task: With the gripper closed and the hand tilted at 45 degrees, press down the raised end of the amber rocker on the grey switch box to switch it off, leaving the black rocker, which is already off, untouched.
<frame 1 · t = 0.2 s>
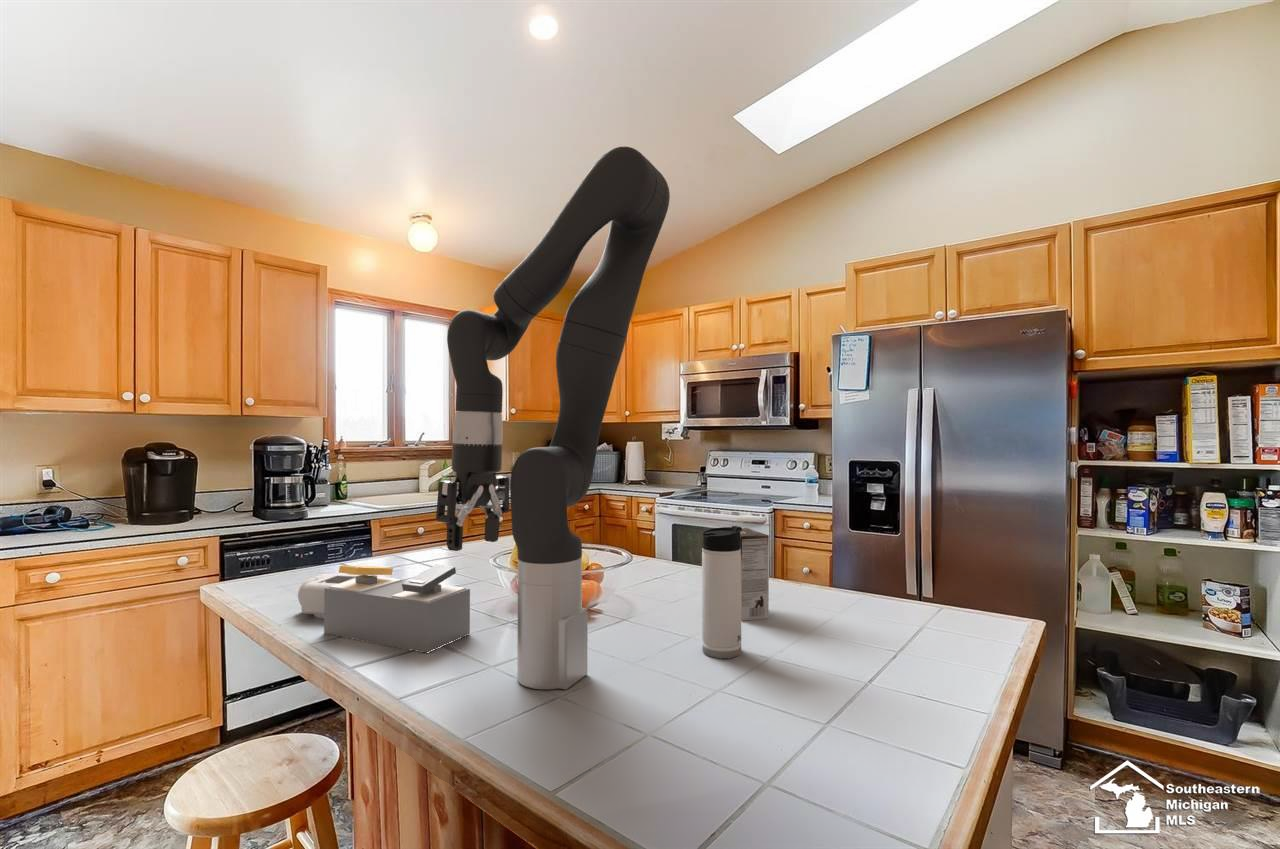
hand: (473, 545, 92), 18 cm above the counter, tool pointing down, fingers open, 8 cm apart
amber rocker: (366, 569, 107), point 11 cm above the counter, hinge at 12.0°
black rocker: (429, 577, 101), point 11 cm above the counter, hinge at -12.0°
travel mug: (722, 652, 95), on the counter
cable organizer: (336, 611, 119), on the counter
coffee box: (744, 614, 116), on the counter
grey switch box: (396, 634, 104), on the counter
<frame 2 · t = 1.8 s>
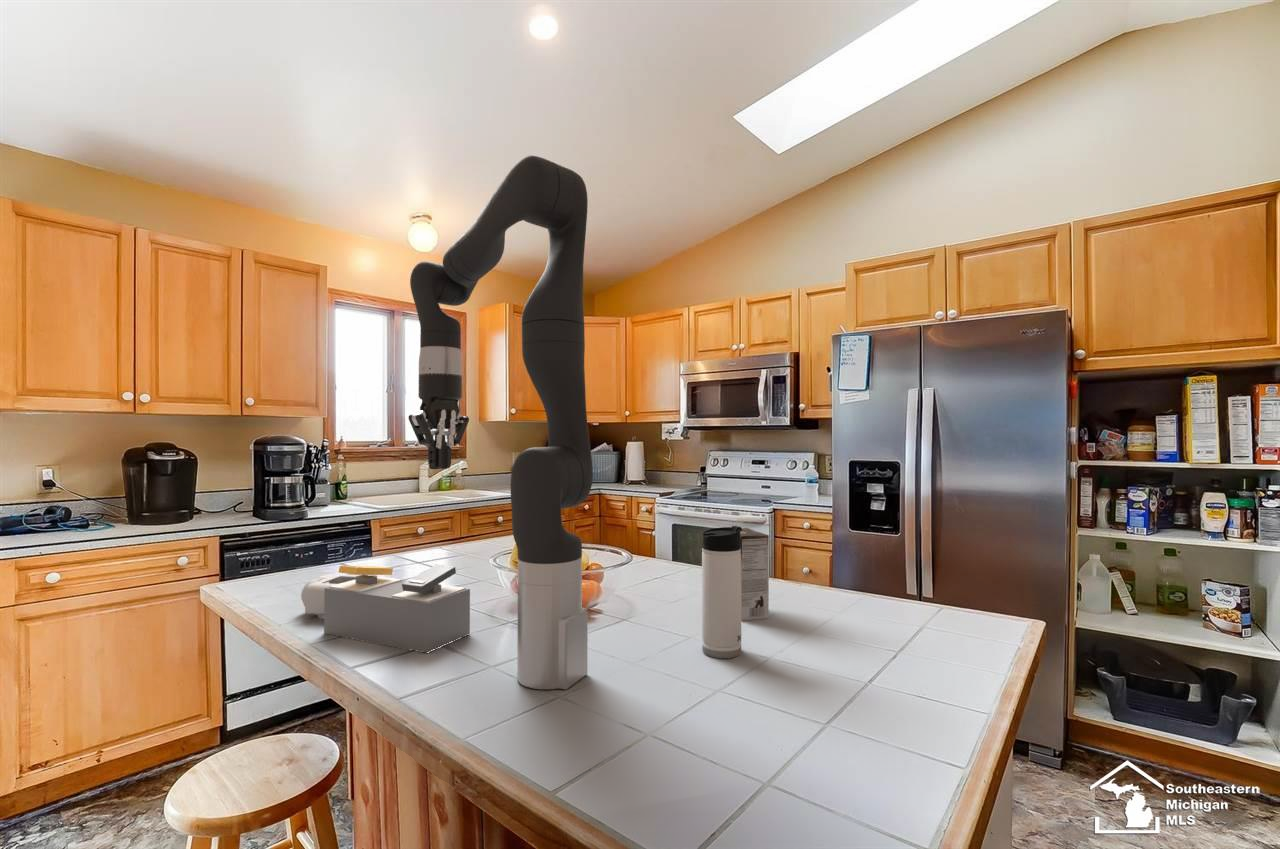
hand: (439, 468, 107), 29 cm above the counter, tool pointing down, fingers closed
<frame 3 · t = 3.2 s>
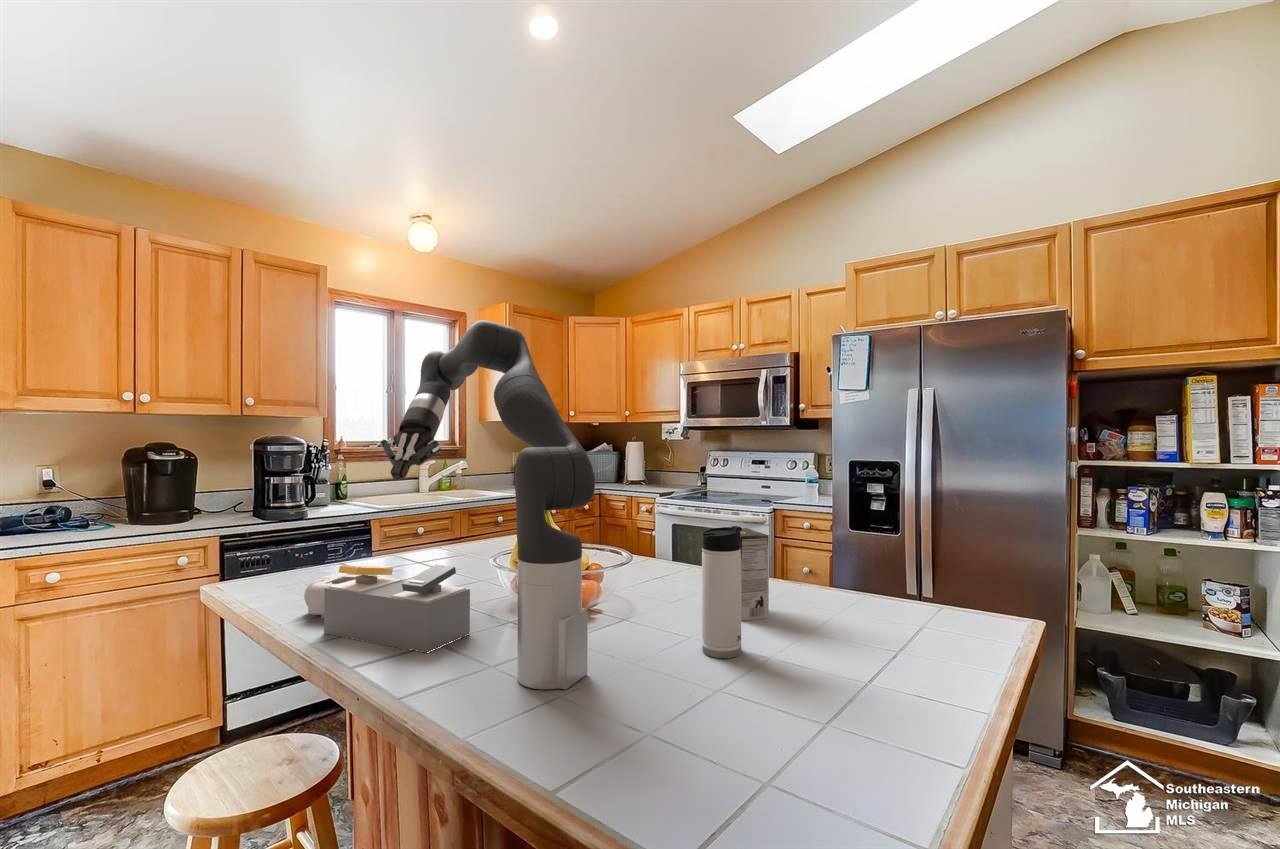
hand: (396, 477, 119), 27 cm above the counter, tool tilted 45°, fingers closed
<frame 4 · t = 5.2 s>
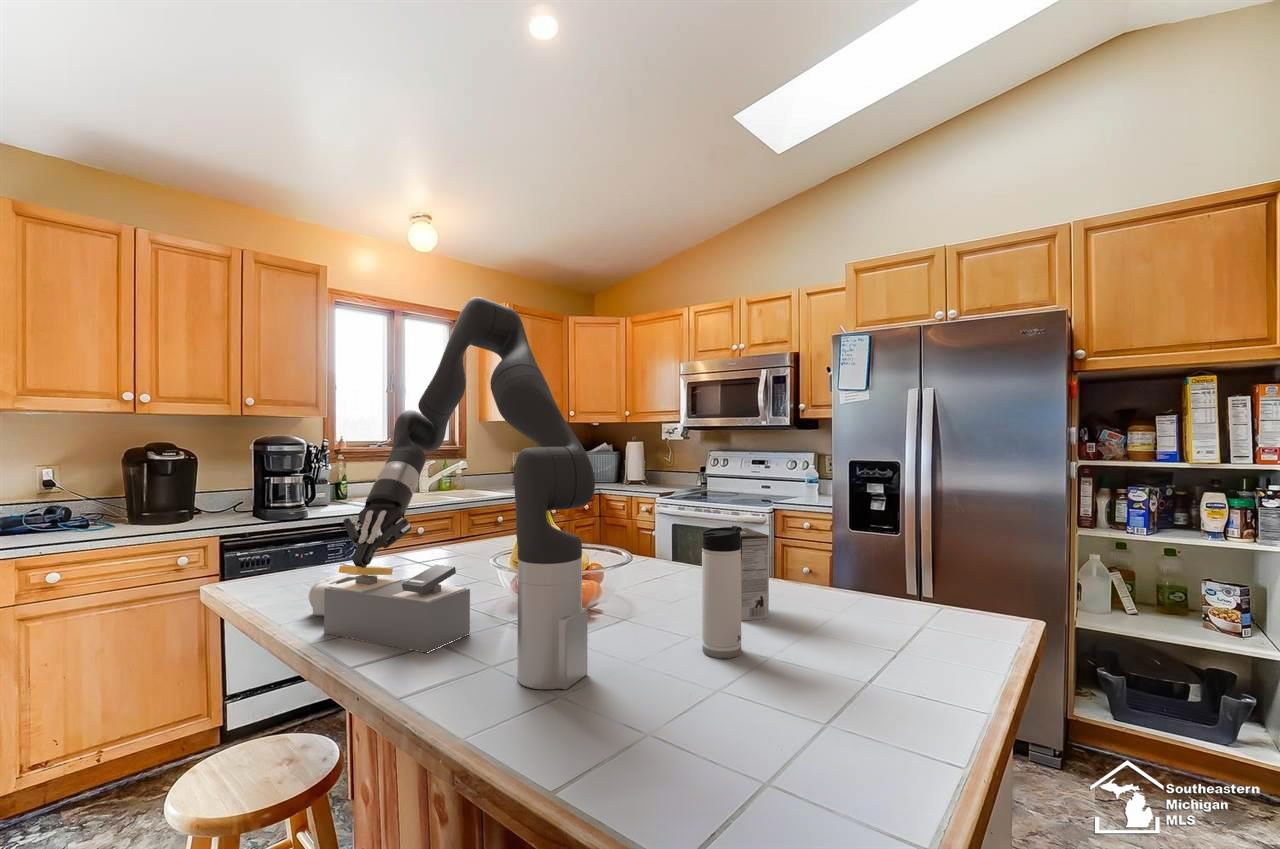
hand: (359, 565, 104), 12 cm above the counter, tool tilted 45°, fingers closed
amber rocker: (366, 569, 107), point 11 cm above the counter, hinge at 12.0°, touching gripper
cable organizer: (347, 613, 118), on the counter
everything else where it was.
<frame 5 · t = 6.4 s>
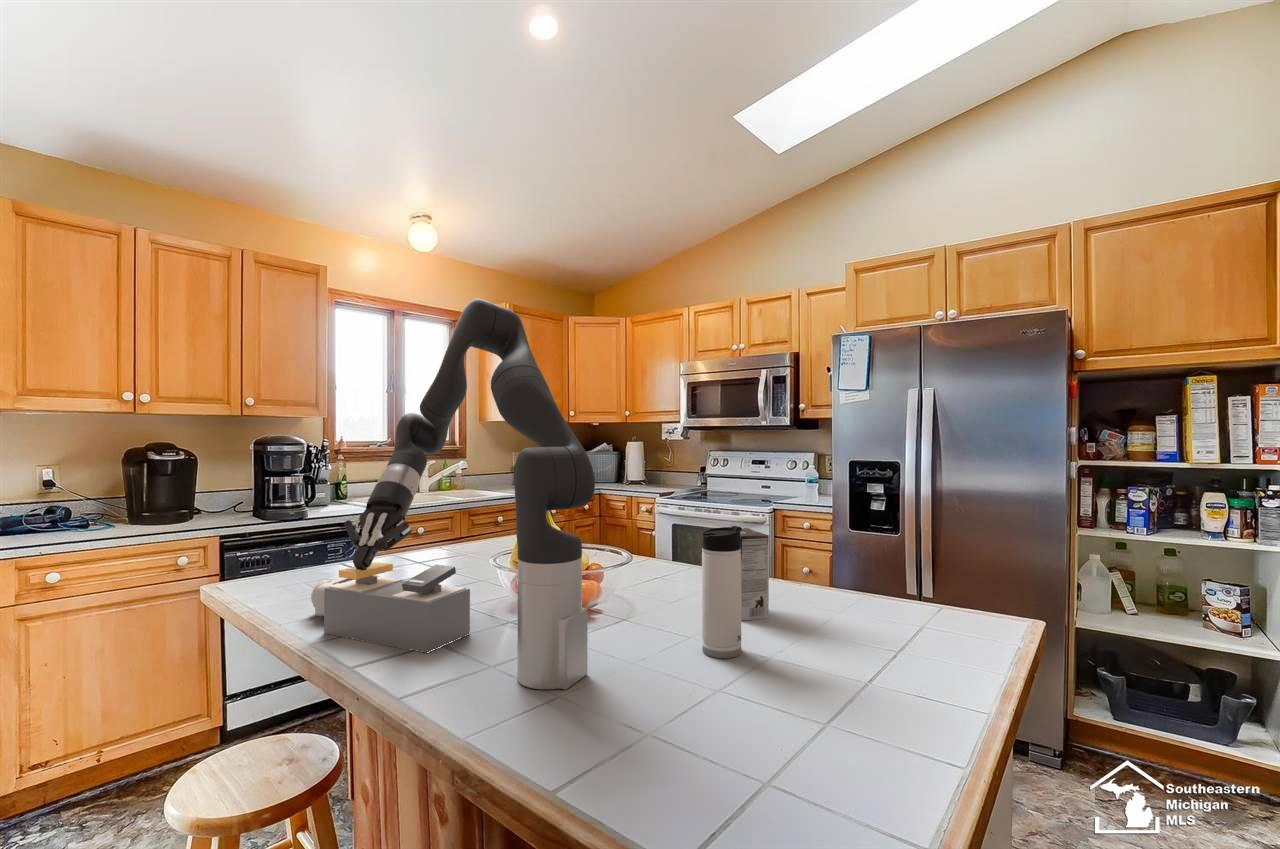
hand: (359, 567, 104), 12 cm above the counter, tool tilted 45°, fingers closed
amber rocker: (366, 569, 107), point 11 cm above the counter, hinge at 0.6°, touching gripper
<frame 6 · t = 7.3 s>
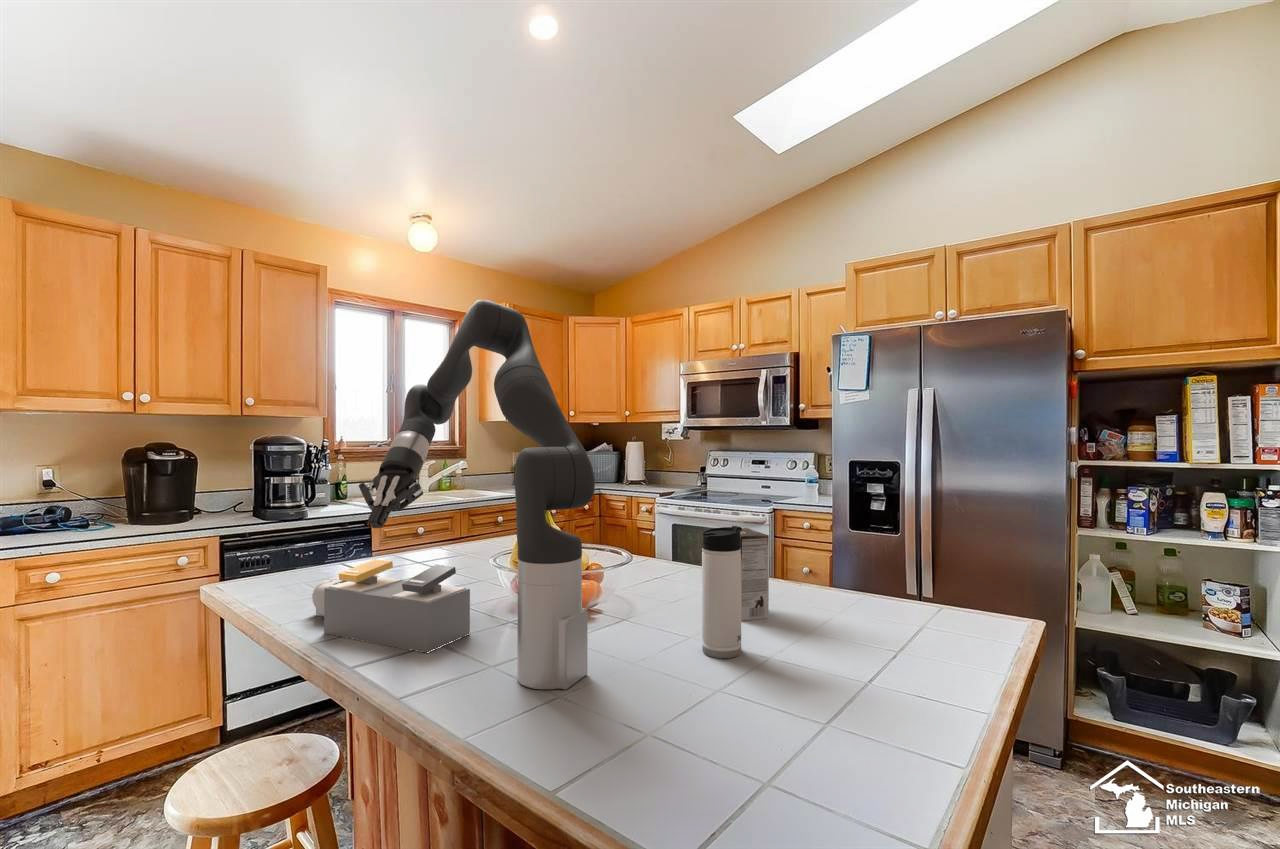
hand: (374, 525, 110), 18 cm above the counter, tool tilted 45°, fingers closed
amber rocker: (366, 570, 107), point 11 cm above the counter, hinge at -7.4°
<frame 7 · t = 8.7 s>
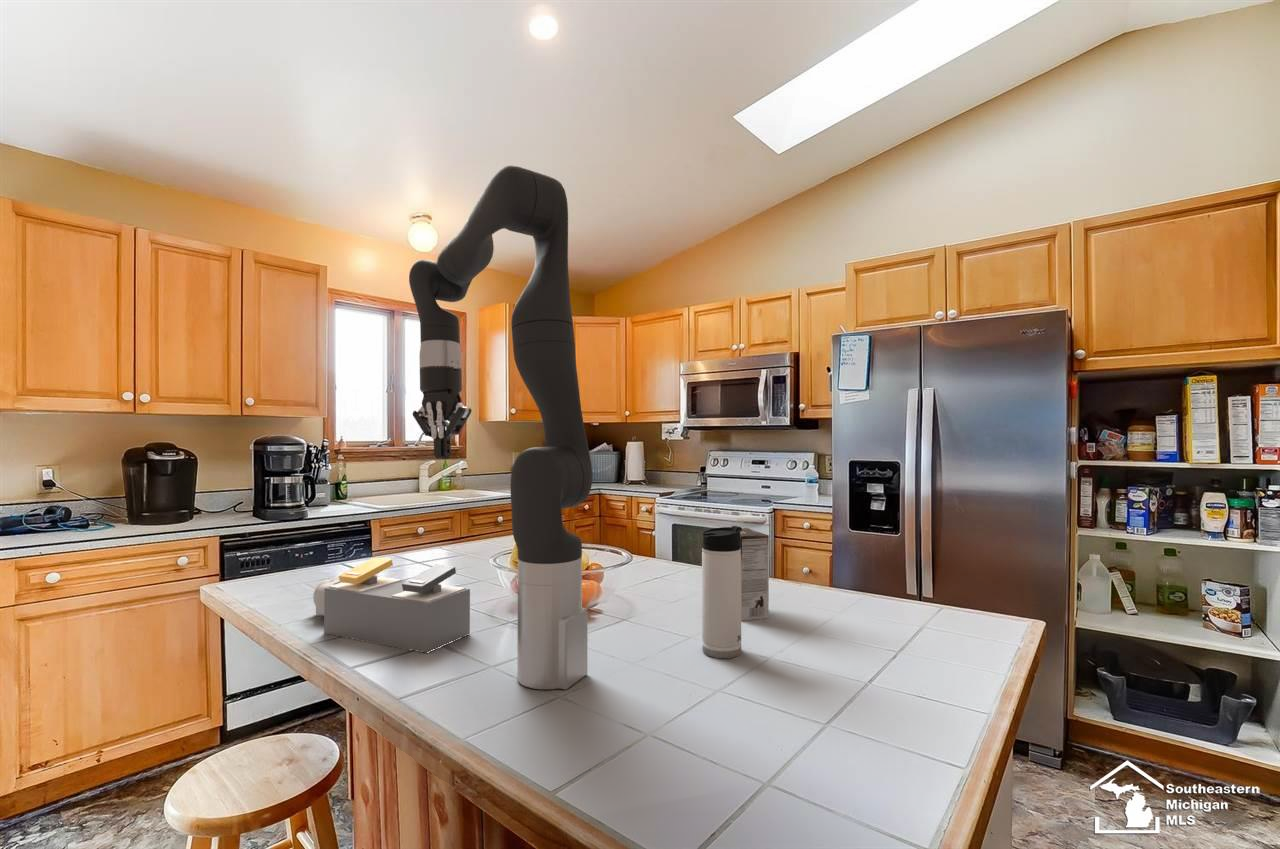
hand: (442, 458, 111), 31 cm above the counter, tool pointing down, fingers closed
amber rocker: (366, 570, 107), point 11 cm above the counter, hinge at -12.9°
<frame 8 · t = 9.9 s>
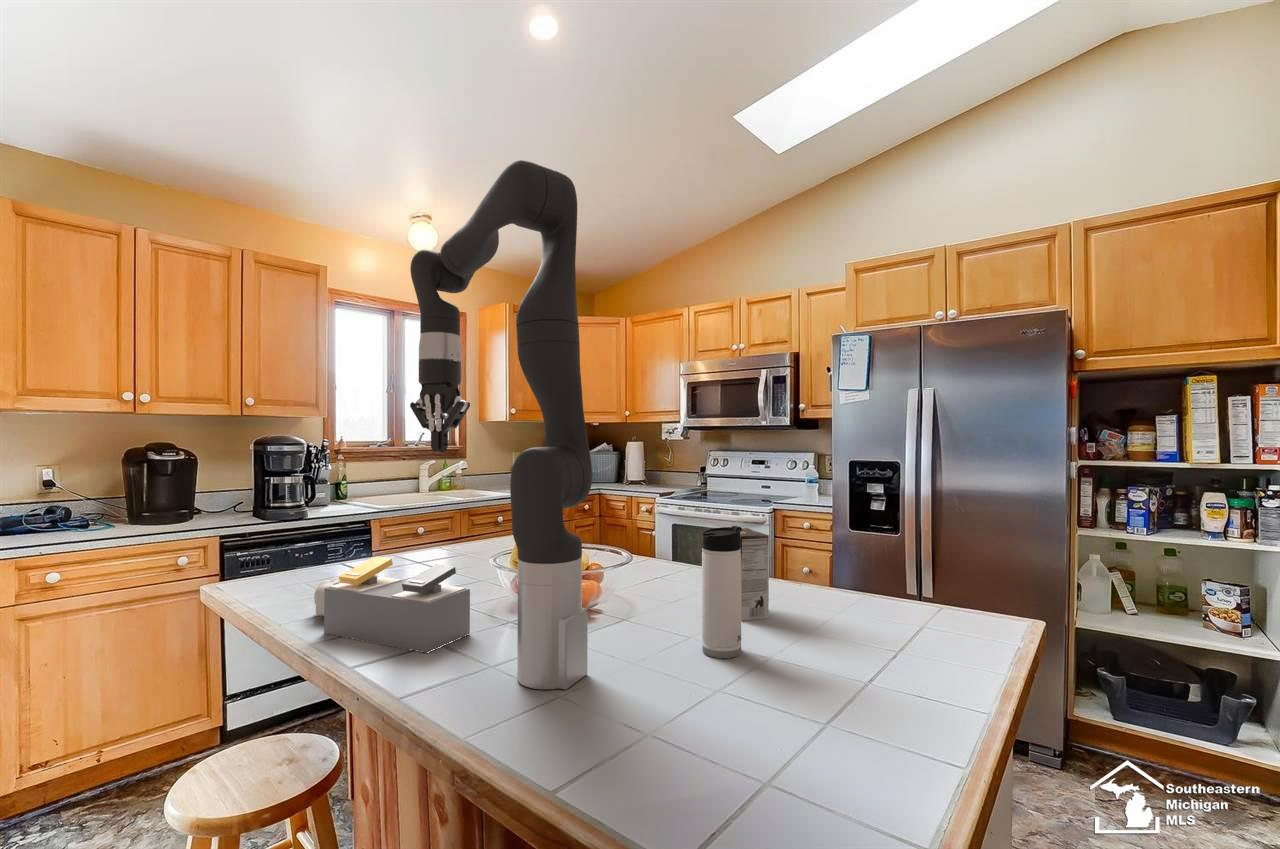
hand: (439, 451, 110), 32 cm above the counter, tool pointing down, fingers closed
amber rocker: (366, 570, 107), point 11 cm above the counter, hinge at -14.8°
cable organizer: (351, 614, 117), on the counter, touching grey switch box
everything else where it was.
at the end: amber rocker at -15° (first picture: +12°); black rocker at -12° (first picture: -12°) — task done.
